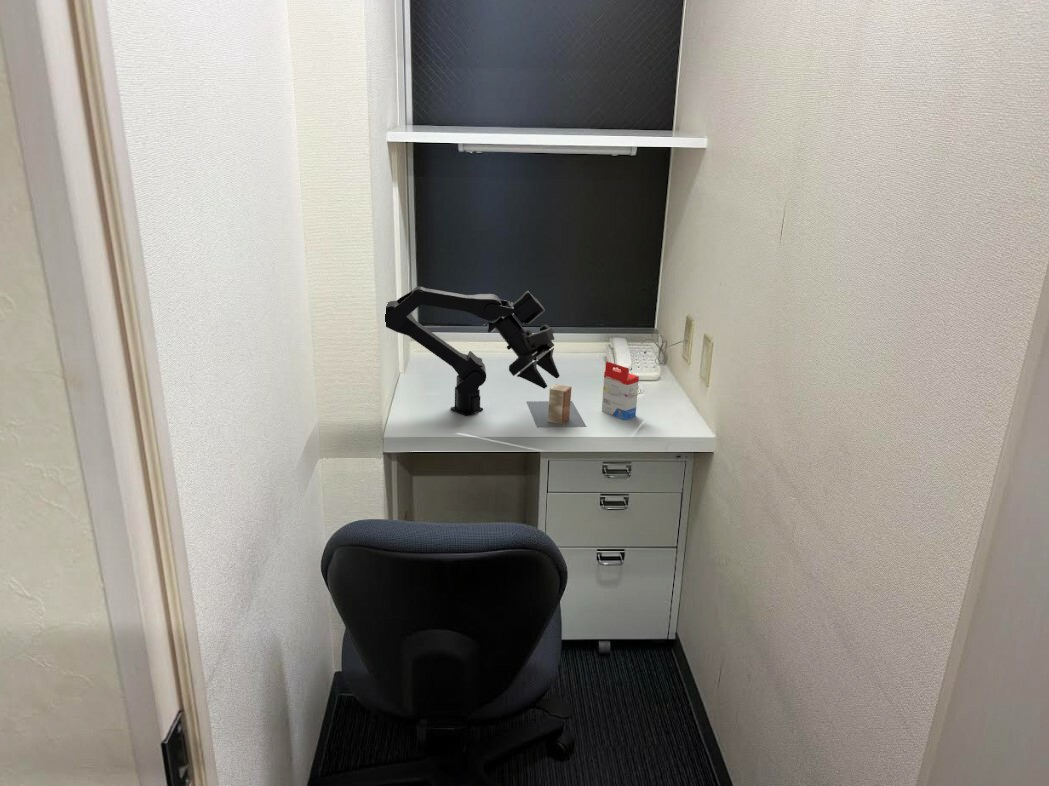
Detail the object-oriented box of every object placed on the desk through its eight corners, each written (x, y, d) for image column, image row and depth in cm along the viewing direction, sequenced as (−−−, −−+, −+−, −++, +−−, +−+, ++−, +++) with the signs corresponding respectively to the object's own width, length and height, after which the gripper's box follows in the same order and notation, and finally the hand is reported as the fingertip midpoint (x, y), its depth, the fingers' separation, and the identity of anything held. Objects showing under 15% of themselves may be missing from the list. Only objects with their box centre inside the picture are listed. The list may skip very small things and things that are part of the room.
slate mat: (586, 428, 204) (586, 426, 204) (536, 428, 202) (537, 427, 202) (571, 402, 222) (571, 401, 221) (526, 402, 220) (526, 401, 219)
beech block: (547, 421, 206) (549, 388, 203) (553, 415, 210) (555, 383, 207) (563, 424, 205) (565, 391, 202) (569, 418, 208) (571, 386, 205)
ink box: (636, 417, 213) (641, 365, 208) (624, 421, 210) (629, 369, 205) (612, 408, 219) (616, 357, 214) (600, 412, 215) (604, 360, 210)
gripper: (522, 325, 193) (562, 374, 193) (549, 309, 209) (585, 355, 209) (492, 351, 198) (530, 399, 198) (520, 334, 215) (556, 378, 215)
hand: (552, 382), depth 205 cm, fingers open, 9 cm apart
